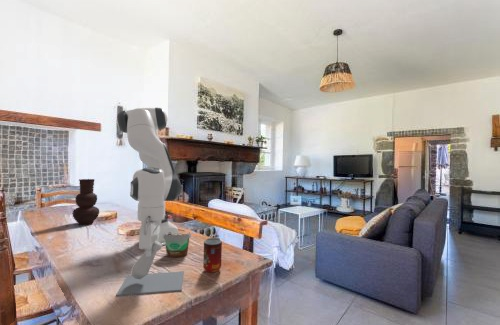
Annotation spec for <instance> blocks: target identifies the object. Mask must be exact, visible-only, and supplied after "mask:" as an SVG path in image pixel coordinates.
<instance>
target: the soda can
mask: <svg viewBox="0 0 500 325" xmlns="http://www.w3.org/2000/svg"><path fill="white" fill-rule="evenodd" d="M222 245H223V241H222V240H221V239H220V238H218V237H209V238H206V239H205V240H204V242H203V269H204V272H205V273H206V274H209V275H212V274H213V275H214V274H218V273H219V272H220V269H221V268H222V256H223V255H222V253H223V252H222V250H223V247H222Z"/></svg>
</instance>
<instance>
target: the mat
mask: <svg viewBox="0 0 500 325" xmlns="http://www.w3.org/2000/svg"><path fill="white" fill-rule="evenodd" d="M184 273H185V271H183V270H182V271H171V272H170V271H167V272H155V273H154V272H153V273H152V272H151V273H148V274H147V275H146V276H144V277H143V278H141V279H135V278H134V277H133V276H132V274H128V275H127V276H126V277H125V279H124V281H123V283H122V284H121V286H120V287H119V289H118V291H117V293H116V294H115V297H124V296H125V297H127V296H137V295H149V294H150V295H151V294H162V293H170V292H171V293H173V292H182V289H183V281H184Z"/></svg>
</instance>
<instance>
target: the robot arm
mask: <svg viewBox="0 0 500 325" xmlns="http://www.w3.org/2000/svg"><path fill="white" fill-rule="evenodd" d="M167 124H168V115H167V113H166V112H165V109H163V108H161V107H141V108H140V107H138V108H134V109H129V110H126V109H124V110H121V111H119V113H117V117H116V125H117V127H118V129H119V130H120V131H121V132H122V133H125V134H126V135H127V142H128V144H129V146H130V147H131V148H132V149H133V150H135V152H138V157H139V159H140V161H141V162H142V163H143V164H145V166H146V167H145V168H142V169H138V170H136V171H134V174H133V176H132V180H131V181H130V192H129V196H130V197H131V198H132V199H133V200H135V201H137V202H138V204H137V219H136V220H137V221H139V222H140V223H141V225H140V228H139V233H138V234H139V235H138V236H139V237H138V248H139V250H144V251H146V256H147V257H149V256H151V255H152V245H153V243H154V242H155V240H156V241H158V242H160V243H161V245H162V246H166V243H165V239H164V235H165V234H166V235H173V234H180V233H179V228H178V227H177V226H176V225H175V224H173V223H172V222H171V221H169V220H172V217H173V216H172V215H170V214H168V215H167V214H166V202H174V201H175V200H177V198H179V196H180V195H181V194H182V184H181V180H180V178H179V177H178V175H177V172H176V170H175V167H174V164H173V161H172V158H171V155H170V153H169V150H168V148H167V145H166V143H164V142H163V141H161V139H160V136H159V133H158V131H159V132H161V131H162V130H164V129H165V128H166V127H167Z"/></svg>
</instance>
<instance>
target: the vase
mask: <svg viewBox="0 0 500 325" xmlns="http://www.w3.org/2000/svg"><path fill="white" fill-rule="evenodd" d="M95 180H96V179H94V178H92V179H91V178H88V179H87V178H82V179H78V181H79V183H78V184H79V193H78V194H77V195H76V196H75V197H74V198H75V205H76V206H77V207H76V208H74V209H73V210H72V213H71V214H72V219H74V221H75V222H77V224H78V225H79V226H88V225H92V224H94V221H95V220H96V219H97V218H98V217H99V214H100V209H99V207H97V206H95V205H96V204H97V201H98V195H97V194H96V193H94V186H95Z"/></svg>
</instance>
